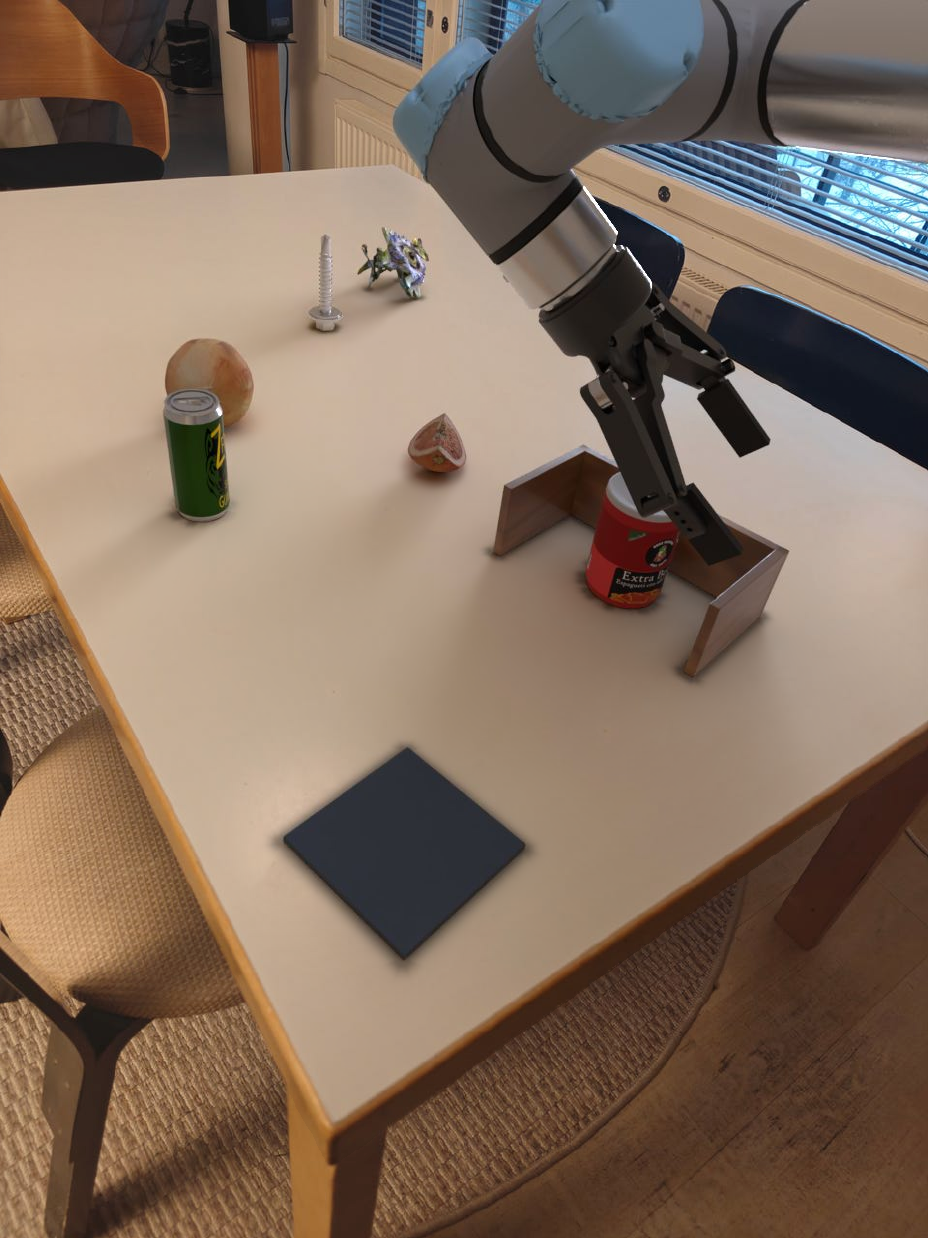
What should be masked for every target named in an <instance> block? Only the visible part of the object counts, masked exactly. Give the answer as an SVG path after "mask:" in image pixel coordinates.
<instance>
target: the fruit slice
mask: <svg viewBox="0 0 928 1238" xmlns="http://www.w3.org/2000/svg"><path fill="white" fill-rule="evenodd" d="M407 454H408V455H409V457H410V458H411V460H412V461H413V462H415V463H416V464H417V465H419V466H420V467H421V468H424V469H426V470H429V471H431V472H437V473H447V472H453V471H456V470H459V469H460V468H462V467H463V466H464V465H465V464H466V461H467V453H466V449H465V446H464V442H463V439H462V437H461V435H460V433H459V431H458V430H457V428H456V427H455V424H454V423H453V421H452V420H451V418H450V417H449V416H448V415H447V414H446V413H445V412H444V413H442V414H440V415H439V416H437V417H435V418H433V419H432V420H430V421H428V422H427V423H426V424H424V425H423V426H422V427H421V428H420V429H418V431H417V432H416V433H415V434H414V436H413V437H412V438H411V440H410V441H409V444H408V446H407Z"/></svg>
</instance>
